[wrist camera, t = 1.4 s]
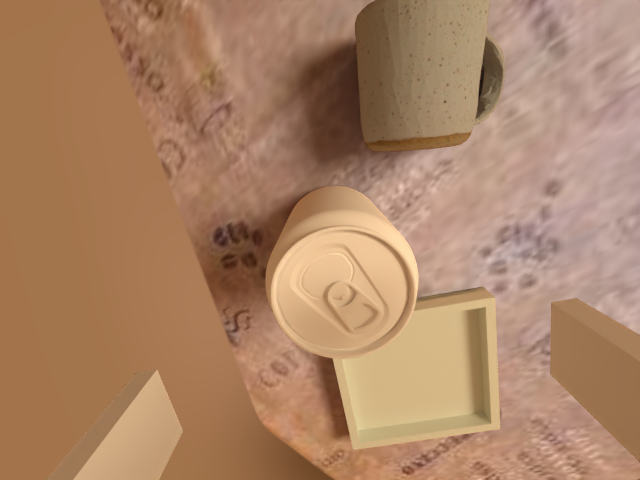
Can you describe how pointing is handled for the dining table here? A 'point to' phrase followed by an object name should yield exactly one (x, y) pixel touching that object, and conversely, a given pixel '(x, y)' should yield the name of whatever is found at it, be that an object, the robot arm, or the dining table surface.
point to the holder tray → (427, 375)
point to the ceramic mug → (425, 72)
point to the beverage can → (341, 276)
